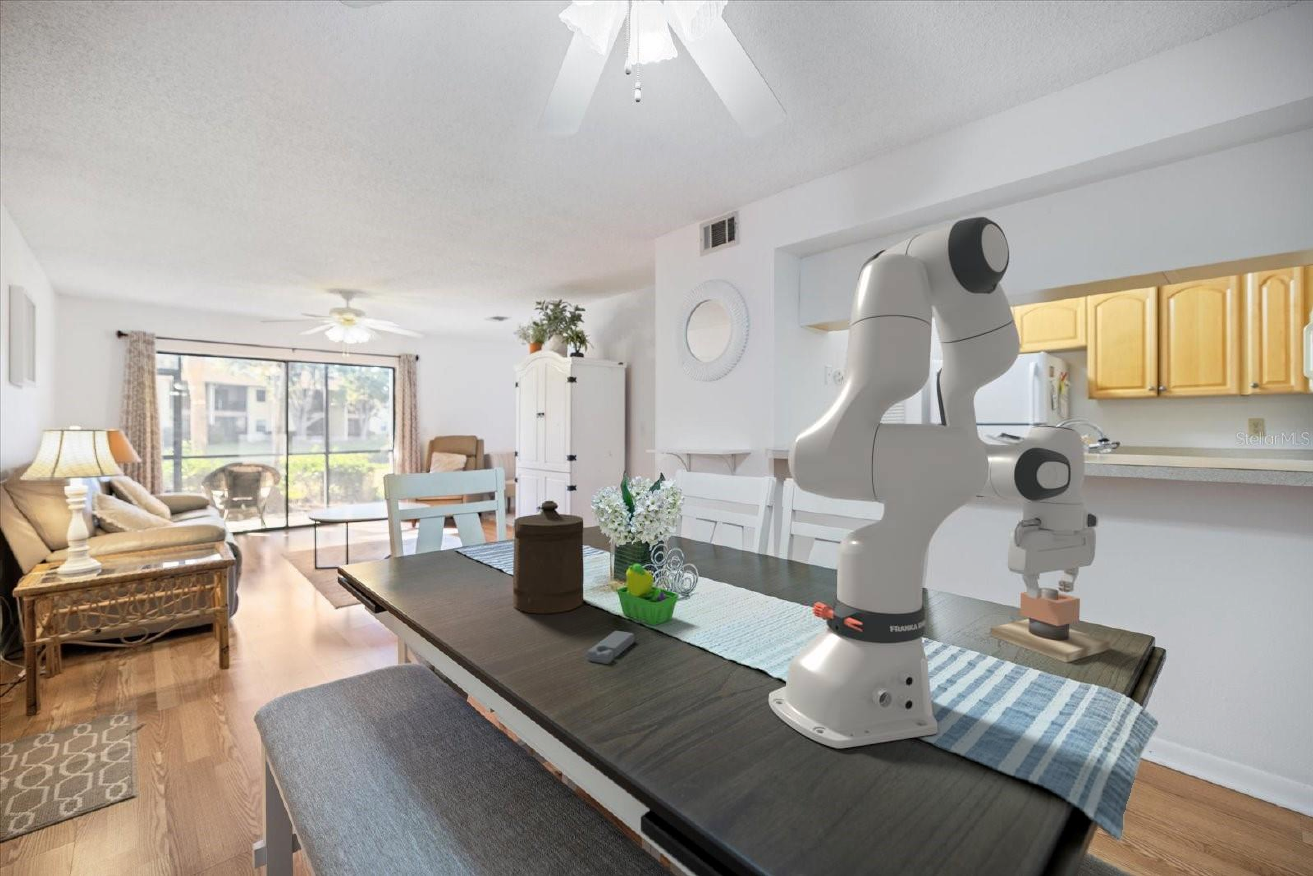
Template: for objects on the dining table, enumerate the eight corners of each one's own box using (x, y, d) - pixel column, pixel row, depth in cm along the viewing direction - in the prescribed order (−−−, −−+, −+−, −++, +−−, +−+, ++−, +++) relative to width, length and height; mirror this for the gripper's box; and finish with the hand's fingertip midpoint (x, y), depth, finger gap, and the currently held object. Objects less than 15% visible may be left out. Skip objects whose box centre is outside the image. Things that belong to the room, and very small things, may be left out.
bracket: (634, 644, 101) (634, 633, 101) (607, 666, 92) (607, 654, 92) (614, 641, 103) (614, 629, 103) (586, 663, 93) (586, 650, 93)
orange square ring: (1057, 626, 98) (1058, 603, 98) (1020, 614, 104) (1020, 593, 104) (1079, 620, 101) (1079, 598, 101) (1041, 610, 106) (1042, 588, 106)
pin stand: (1066, 662, 94) (1067, 605, 93) (990, 635, 105) (991, 584, 105) (1109, 649, 99) (1111, 595, 99) (1033, 625, 111) (1034, 577, 111)
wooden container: (575, 590, 132) (575, 495, 131) (590, 610, 118) (591, 504, 118) (509, 596, 127) (509, 498, 126) (517, 618, 113) (517, 507, 112)
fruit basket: (680, 619, 113) (681, 563, 112) (648, 630, 107) (648, 570, 106) (641, 606, 121) (642, 553, 121) (609, 615, 115) (609, 560, 114)
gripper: (1034, 523, 94) (1032, 606, 94) (1104, 516, 103) (1102, 592, 103) (997, 517, 100) (995, 596, 100) (1066, 512, 109) (1064, 584, 109)
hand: (1050, 594), depth 102 cm, fingers open, 8 cm apart
